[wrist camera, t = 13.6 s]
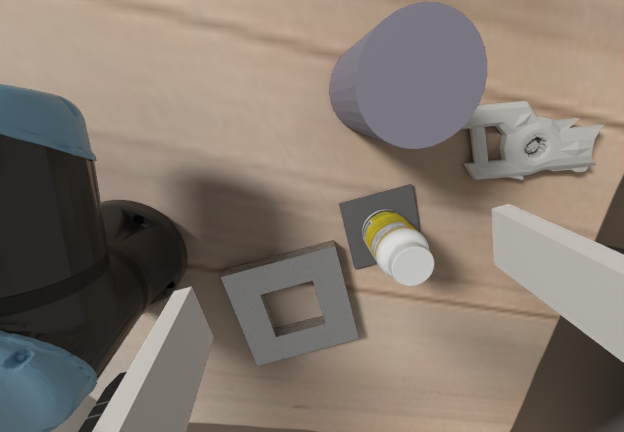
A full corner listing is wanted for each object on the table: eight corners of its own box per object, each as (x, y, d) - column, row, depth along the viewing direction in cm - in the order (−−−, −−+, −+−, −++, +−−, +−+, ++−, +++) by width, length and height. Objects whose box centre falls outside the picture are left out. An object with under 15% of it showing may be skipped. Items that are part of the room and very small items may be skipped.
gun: (621, 92, 38) (602, 175, 41) (596, 93, 41) (580, 169, 44) (467, 107, 38) (461, 188, 41) (454, 106, 41) (449, 182, 44)
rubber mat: (354, 266, 46) (355, 269, 46) (339, 203, 43) (339, 205, 42) (420, 249, 46) (422, 250, 46) (410, 184, 43) (412, 185, 42)
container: (311, 94, 38) (326, 88, 24) (370, 20, 36) (425, -35, 22) (372, 150, 41) (418, 174, 27) (430, 84, 39) (513, 72, 25)
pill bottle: (408, 242, 45) (445, 283, 34) (366, 254, 45) (390, 299, 35) (400, 201, 43) (437, 233, 32) (356, 215, 43) (379, 250, 33)
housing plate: (258, 356, 50) (257, 366, 48) (223, 270, 45) (220, 277, 43) (356, 329, 50) (359, 338, 48) (333, 240, 45) (335, 246, 43)
